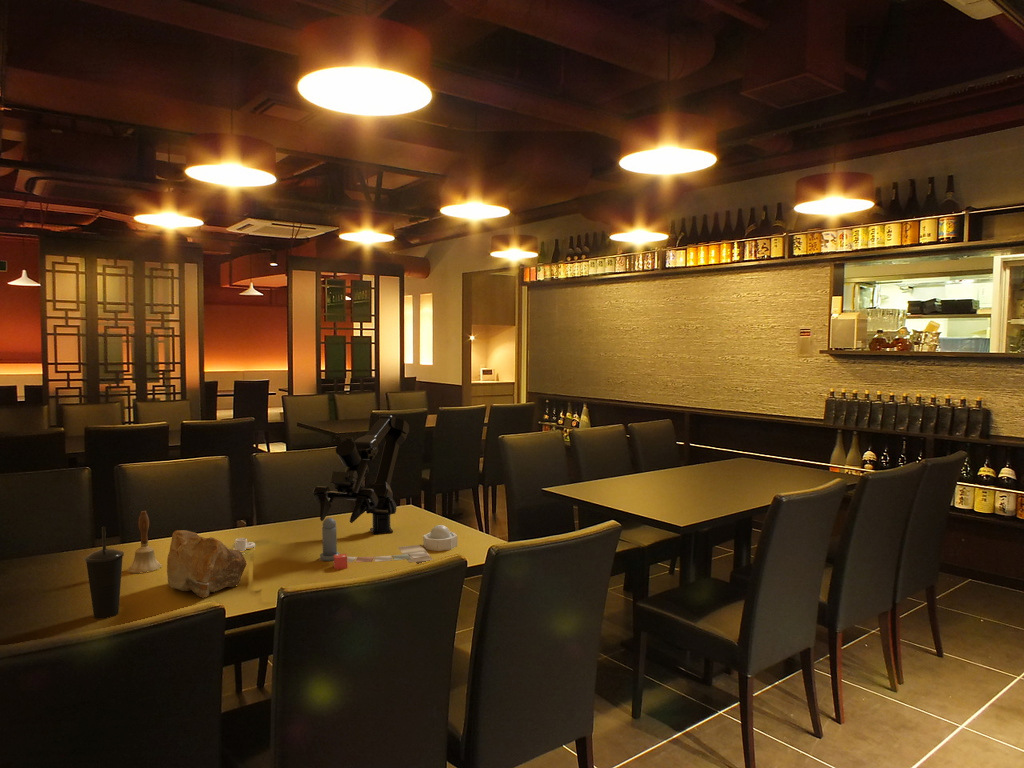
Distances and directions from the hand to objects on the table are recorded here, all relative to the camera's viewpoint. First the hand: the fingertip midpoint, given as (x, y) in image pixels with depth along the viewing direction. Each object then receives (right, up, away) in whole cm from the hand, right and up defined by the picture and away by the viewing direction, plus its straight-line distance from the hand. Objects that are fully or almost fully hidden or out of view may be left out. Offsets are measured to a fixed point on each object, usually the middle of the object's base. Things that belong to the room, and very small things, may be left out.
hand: (335, 521), depth 198 cm
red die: (+4, -10, -11) cm, 15 cm away
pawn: (-1, -10, -3) cm, 10 cm away
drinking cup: (-41, -13, -41) cm, 60 cm away
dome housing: (+28, -10, +13) cm, 33 cm away
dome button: (+28, -10, +13) cm, 33 cm away
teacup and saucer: (-27, -11, +9) cm, 31 cm away
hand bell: (-50, -12, -8) cm, 52 cm away
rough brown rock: (-25, -12, -23) cm, 37 cm away
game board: (+11, -11, -2) cm, 16 cm away
